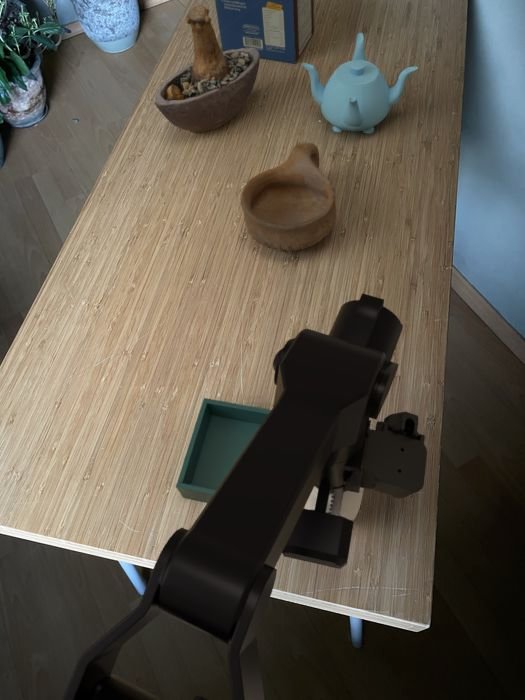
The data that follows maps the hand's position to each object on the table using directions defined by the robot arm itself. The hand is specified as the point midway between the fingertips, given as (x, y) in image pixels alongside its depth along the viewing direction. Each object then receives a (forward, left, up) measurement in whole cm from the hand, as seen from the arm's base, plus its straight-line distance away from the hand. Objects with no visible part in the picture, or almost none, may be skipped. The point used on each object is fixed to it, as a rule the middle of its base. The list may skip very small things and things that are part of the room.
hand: (329, 487), depth 64 cm
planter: (+62, +31, -5) cm, 70 cm away
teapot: (+65, +7, -5) cm, 66 cm away
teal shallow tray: (+2, +11, -4) cm, 12 cm away
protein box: (+85, +27, -5) cm, 90 cm away
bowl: (+41, +13, -5) cm, 44 cm away
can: (0, 0, -5) cm, 5 cm away
